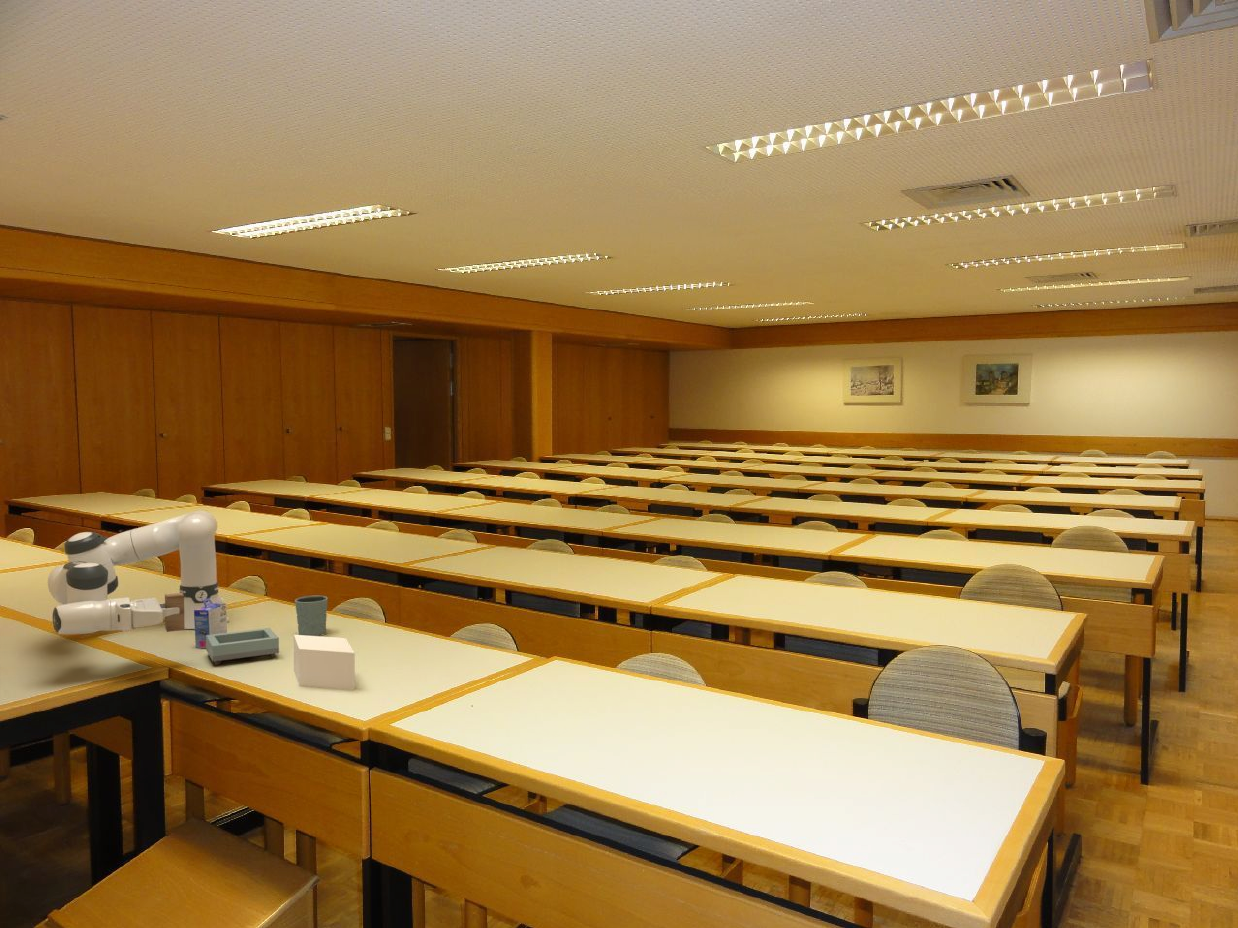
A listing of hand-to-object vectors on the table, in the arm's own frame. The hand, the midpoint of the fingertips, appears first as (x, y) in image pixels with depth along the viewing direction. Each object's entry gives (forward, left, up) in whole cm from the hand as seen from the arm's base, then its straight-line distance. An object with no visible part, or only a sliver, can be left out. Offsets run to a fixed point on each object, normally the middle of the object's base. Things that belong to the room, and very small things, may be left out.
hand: (178, 608), depth 242 cm
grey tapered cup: (-17, +41, -17) cm, 48 cm away
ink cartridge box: (-20, +11, -17) cm, 29 cm away
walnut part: (0, -1, -6) cm, 6 cm away
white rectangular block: (+34, +32, -17) cm, 50 cm away
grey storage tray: (0, +17, -17) cm, 24 cm away
